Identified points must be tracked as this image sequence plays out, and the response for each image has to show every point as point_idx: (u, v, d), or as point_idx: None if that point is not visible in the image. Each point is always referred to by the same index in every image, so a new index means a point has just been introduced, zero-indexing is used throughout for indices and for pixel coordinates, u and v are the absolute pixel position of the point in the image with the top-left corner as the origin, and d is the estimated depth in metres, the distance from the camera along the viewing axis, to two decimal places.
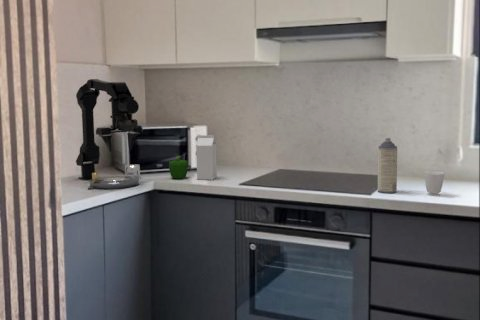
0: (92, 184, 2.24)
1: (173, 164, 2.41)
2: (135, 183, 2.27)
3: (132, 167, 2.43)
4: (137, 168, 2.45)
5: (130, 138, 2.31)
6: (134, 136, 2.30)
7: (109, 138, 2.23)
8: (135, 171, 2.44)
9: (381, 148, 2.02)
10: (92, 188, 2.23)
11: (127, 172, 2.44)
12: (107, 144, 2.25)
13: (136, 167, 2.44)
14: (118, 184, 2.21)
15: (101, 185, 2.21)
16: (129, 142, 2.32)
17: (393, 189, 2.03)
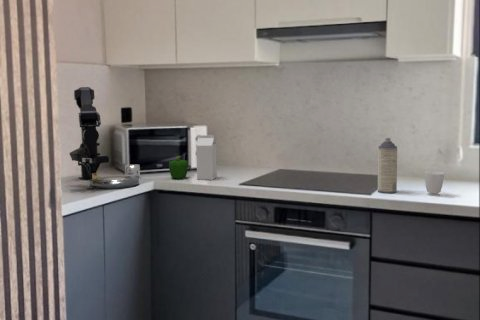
0: (92, 184, 2.24)
1: (173, 164, 2.41)
2: (135, 183, 2.27)
3: (132, 167, 2.43)
4: (137, 168, 2.45)
5: None
6: (88, 165, 2.23)
7: (85, 165, 2.25)
8: (135, 171, 2.44)
9: (381, 148, 2.02)
10: (92, 188, 2.23)
11: (127, 172, 2.44)
12: None
13: (136, 167, 2.44)
14: (118, 184, 2.21)
15: (101, 185, 2.21)
16: None
17: (393, 189, 2.03)
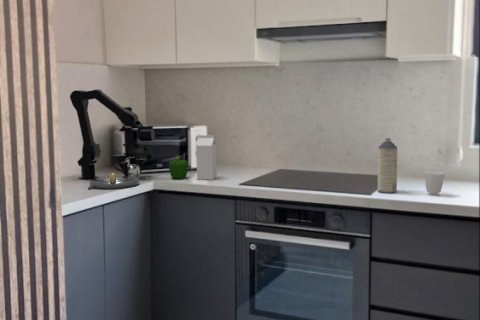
0: (110, 185, 2.21)
1: (173, 164, 2.41)
2: None
3: (132, 167, 2.43)
4: (137, 168, 2.45)
5: (139, 164, 2.49)
6: (143, 162, 2.48)
7: (126, 165, 2.42)
8: (135, 171, 2.44)
9: (381, 148, 2.02)
10: (92, 188, 2.23)
11: None
12: (123, 170, 2.43)
13: (136, 167, 2.44)
14: (136, 181, 2.28)
15: (124, 184, 2.22)
16: None
17: (393, 189, 2.03)
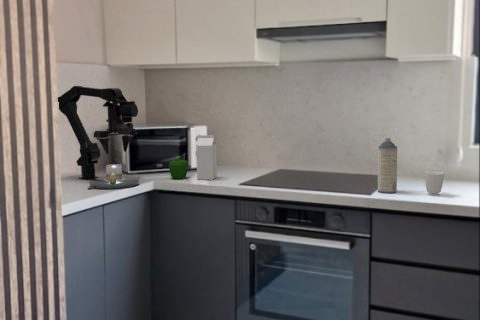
0: (110, 185, 2.21)
1: (173, 164, 2.41)
2: None
3: (113, 167, 2.27)
4: (119, 168, 2.28)
5: (125, 140, 2.46)
6: (129, 138, 2.45)
7: (106, 141, 2.37)
8: (116, 171, 2.27)
9: (381, 148, 2.02)
10: (92, 188, 2.23)
11: (108, 172, 2.27)
12: (104, 146, 2.39)
13: (118, 167, 2.28)
14: (136, 181, 2.28)
15: (124, 184, 2.22)
16: (124, 144, 2.46)
17: (393, 189, 2.03)
